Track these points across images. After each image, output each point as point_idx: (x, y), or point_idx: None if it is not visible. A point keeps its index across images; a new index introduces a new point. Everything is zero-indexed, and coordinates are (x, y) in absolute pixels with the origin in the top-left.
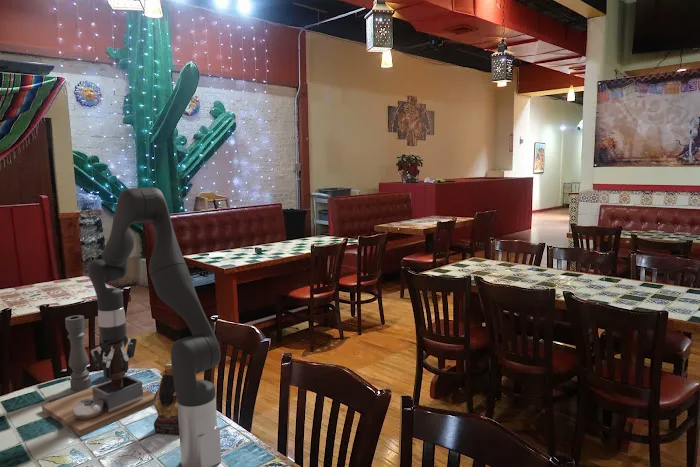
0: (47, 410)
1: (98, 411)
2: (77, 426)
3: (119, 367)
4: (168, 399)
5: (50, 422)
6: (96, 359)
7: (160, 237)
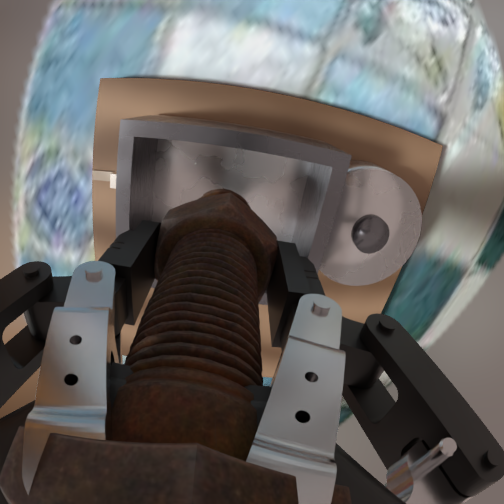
0: None
1: (366, 163)
2: (429, 176)
3: (198, 251)
4: None
5: (387, 302)
6: (450, 395)
7: None
